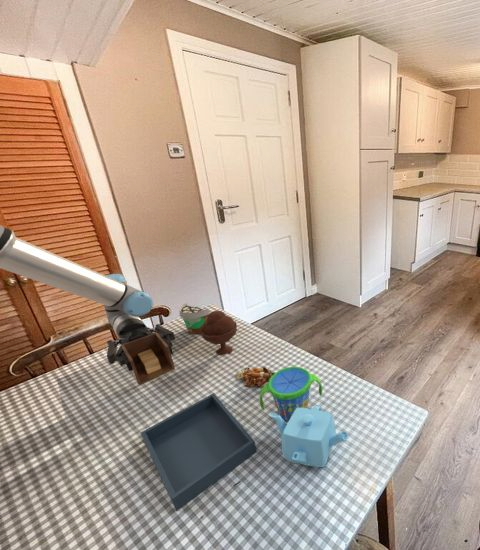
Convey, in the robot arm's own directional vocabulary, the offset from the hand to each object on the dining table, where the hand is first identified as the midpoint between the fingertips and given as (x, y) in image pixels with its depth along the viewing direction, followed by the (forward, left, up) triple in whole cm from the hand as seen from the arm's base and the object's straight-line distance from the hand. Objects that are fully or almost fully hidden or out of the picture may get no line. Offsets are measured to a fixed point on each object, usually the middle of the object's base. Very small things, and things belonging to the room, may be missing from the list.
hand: (151, 358), depth 84 cm
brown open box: (-5, 0, -6) cm, 8 cm away
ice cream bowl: (-4, +20, -11) cm, 23 cm away
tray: (+28, 0, -11) cm, 30 cm away
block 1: (-7, 0, -5) cm, 9 cm away
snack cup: (+35, +21, -11) cm, 43 cm away
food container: (-24, +18, -11) cm, 32 cm away
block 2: (-3, 0, -5) cm, 6 cm away
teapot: (+48, +16, -11) cm, 52 cm away
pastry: (+16, +20, -11) cm, 28 cm away
